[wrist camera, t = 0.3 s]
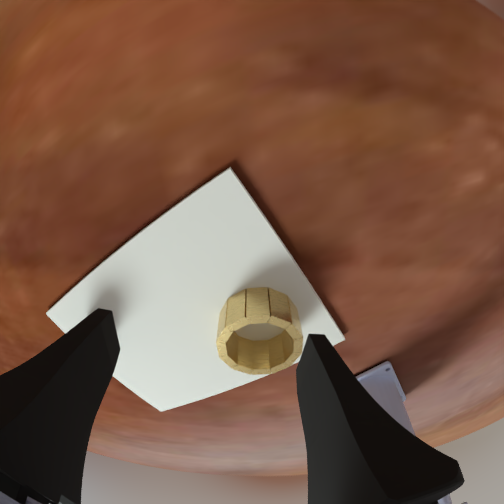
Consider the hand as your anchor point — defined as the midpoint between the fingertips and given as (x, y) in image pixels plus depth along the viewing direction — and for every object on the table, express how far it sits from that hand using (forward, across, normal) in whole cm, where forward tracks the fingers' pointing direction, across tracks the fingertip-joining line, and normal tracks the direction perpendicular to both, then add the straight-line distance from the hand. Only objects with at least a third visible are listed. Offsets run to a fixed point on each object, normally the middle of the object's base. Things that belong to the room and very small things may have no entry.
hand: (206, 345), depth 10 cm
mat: (+10, +3, +8) cm, 13 cm away
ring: (+9, -3, +6) cm, 11 cm away
